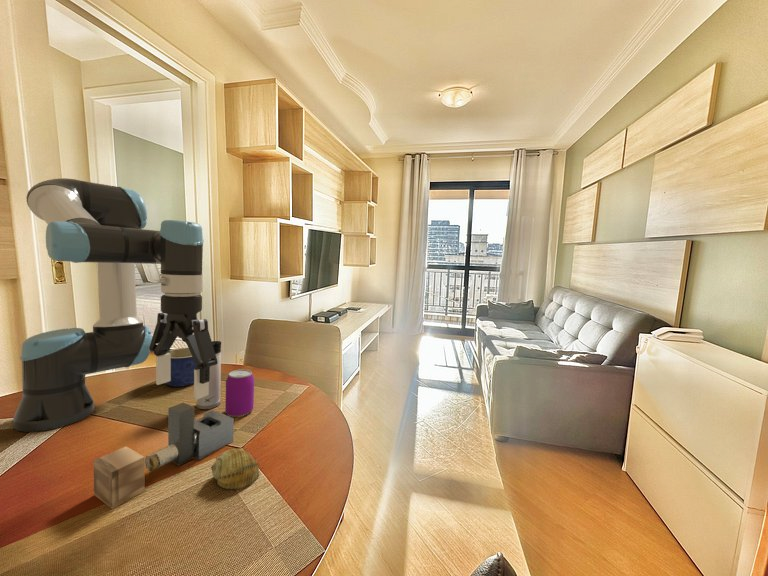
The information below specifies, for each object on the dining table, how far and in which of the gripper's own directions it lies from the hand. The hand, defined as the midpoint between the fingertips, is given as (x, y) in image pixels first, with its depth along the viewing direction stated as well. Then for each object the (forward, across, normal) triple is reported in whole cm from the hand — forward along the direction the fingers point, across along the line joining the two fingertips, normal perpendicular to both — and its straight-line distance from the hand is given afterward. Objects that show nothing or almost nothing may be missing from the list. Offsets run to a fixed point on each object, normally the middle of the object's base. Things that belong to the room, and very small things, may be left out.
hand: (181, 389), depth 70 cm
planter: (+17, -42, +26) cm, 52 cm away
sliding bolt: (+16, 0, +1) cm, 16 cm away
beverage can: (+17, -8, +22) cm, 29 cm away
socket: (+17, 0, -12) cm, 20 cm away
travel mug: (+17, -19, +20) cm, 32 cm away
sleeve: (+16, 0, +6) cm, 18 cm away
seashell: (+17, +15, +3) cm, 23 cm away
